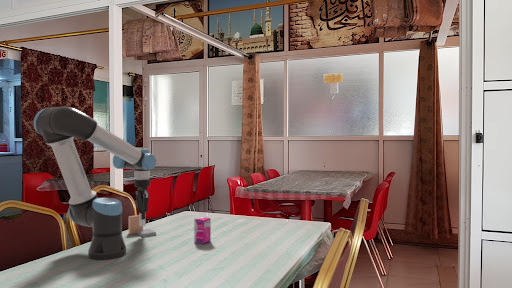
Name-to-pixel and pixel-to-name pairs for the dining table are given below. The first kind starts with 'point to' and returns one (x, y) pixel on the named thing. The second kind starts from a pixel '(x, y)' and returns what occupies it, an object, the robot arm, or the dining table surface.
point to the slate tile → (146, 233)
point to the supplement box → (202, 230)
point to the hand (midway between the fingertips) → (142, 225)
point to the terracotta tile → (134, 224)
